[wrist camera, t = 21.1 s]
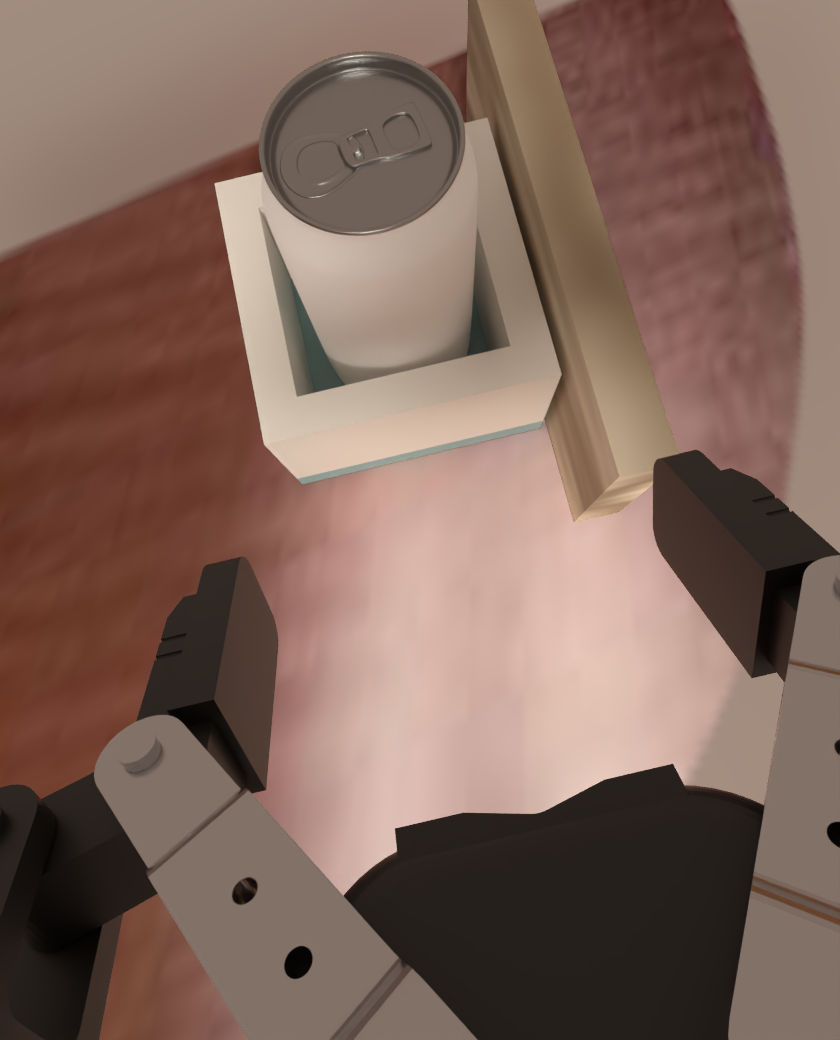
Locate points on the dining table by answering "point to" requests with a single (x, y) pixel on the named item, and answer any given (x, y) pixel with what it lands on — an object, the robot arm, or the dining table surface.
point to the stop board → (568, 266)
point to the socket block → (405, 395)
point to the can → (374, 211)
